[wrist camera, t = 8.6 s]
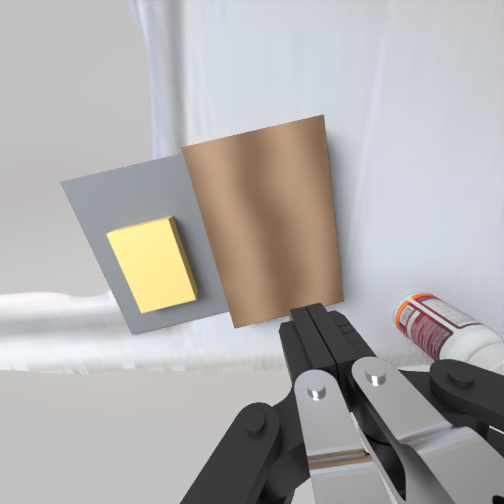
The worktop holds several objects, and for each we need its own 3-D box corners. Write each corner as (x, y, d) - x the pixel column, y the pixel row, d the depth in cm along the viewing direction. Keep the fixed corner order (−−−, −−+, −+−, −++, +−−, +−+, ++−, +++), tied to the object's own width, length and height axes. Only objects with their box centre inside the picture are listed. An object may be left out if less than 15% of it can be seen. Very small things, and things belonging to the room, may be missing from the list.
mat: (184, 153, 23) (183, 153, 22) (229, 309, 28) (229, 310, 28) (62, 181, 22) (60, 181, 22) (133, 333, 28) (132, 334, 28)
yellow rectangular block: (106, 233, 22) (115, 229, 24) (141, 313, 25) (147, 303, 27) (168, 219, 22) (172, 215, 24) (196, 299, 25) (198, 291, 27)
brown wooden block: (308, 124, 23) (323, 114, 19) (328, 284, 29) (343, 301, 25) (189, 152, 23) (181, 147, 19) (233, 308, 28) (234, 328, 25)
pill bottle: (401, 337, 32) (486, 417, 22) (384, 307, 31) (468, 377, 20) (441, 314, 32) (549, 384, 21) (426, 281, 30) (536, 339, 19)
